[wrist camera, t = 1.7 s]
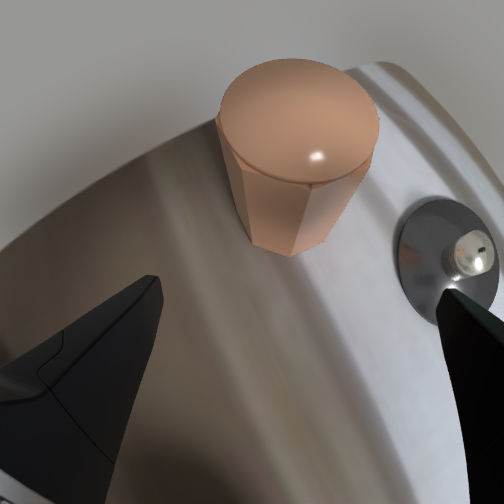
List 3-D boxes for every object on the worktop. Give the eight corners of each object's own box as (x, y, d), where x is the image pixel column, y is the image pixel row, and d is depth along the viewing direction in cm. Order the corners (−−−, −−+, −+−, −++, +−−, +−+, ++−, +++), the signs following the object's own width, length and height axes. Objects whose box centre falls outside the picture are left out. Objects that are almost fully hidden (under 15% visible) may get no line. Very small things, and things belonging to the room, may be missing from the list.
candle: (431, 354, 21) (463, 357, 16) (373, 231, 23) (395, 209, 19) (509, 289, 21) (542, 280, 17) (460, 185, 24) (486, 163, 19)
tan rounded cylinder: (264, 269, 23) (263, 206, 11) (226, 190, 25) (197, 85, 13) (346, 230, 23) (408, 147, 12) (304, 158, 25) (325, 47, 13)
